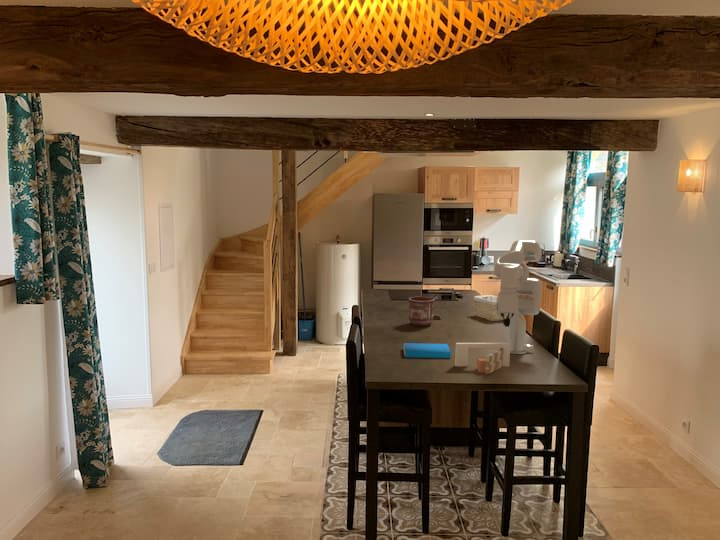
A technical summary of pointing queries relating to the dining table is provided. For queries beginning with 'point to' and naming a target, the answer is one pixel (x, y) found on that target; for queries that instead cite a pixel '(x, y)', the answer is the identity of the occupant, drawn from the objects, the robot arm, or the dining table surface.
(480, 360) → the salmon pink cube
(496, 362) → the beige wavy panel
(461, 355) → the wall frame
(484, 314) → the storage basket
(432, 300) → the pottery
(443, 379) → the dining table surface
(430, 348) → the book
